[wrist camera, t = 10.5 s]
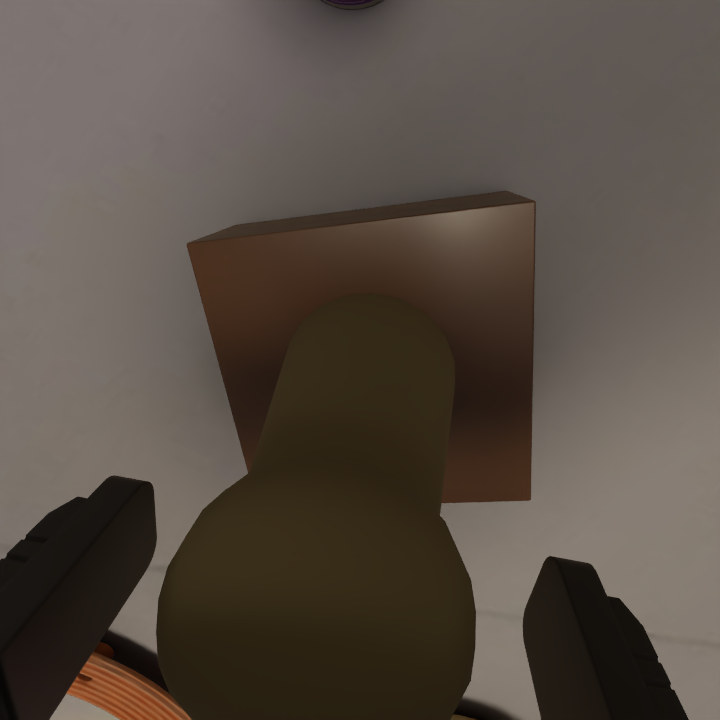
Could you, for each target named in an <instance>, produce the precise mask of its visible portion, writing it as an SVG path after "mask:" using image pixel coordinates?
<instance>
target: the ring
mask: <svg viewBox="0 0 720 720" xmlns="http://www.w3.org/2000/svg"><path fill="white" fill-rule="evenodd" d="M113 654H114V651H113V649H112V648H111V647H110V646H109V645H107V644H106V643H102V642H99V644H98V645H97V647H96V648H95V650H94V651H93V653H92V654H91V656H90V658H89V659H88V661H87V662H86V664H85V665H84V667H83V668H82V670H81V671H80V673H79V674H78V676H77V678H76V679H75V681H74V682H73V684H72V685H71V687H70V688H69V690H68V691H67V693H66V694H69V695H71V696H74V697H77V698H79V699H82V700H84V701H87V702H89V703H91V704H93V705H95V706H97V707H99V708H101V709H103V710H105V711H107V712H108V713H110V714H112V715H114V716H115V717H117V718H119V719H120V720H192V719H191V718H190V717H189V716H188V715H187V713H186V712H185V711H184V710H183V709H182V708H181V706H180V705H179V704H178V703H177V702H176V700H175V699H174V698H173V697H172V696H171V695H170V694H169V693H168V692H166V691H165V690H164V689H162V688H161V687H159V686H158V685H157V684H155V683H154V682H152V681H151V680H149V679H147V678H146V677H144V676H143V675H141V674H139V673H137V672H136V671H134V670H132V669H130V668H128V667H126V666H124V665H122V664H120V663H118V662H116V661H114V660H111V659H112V657H113Z"/></svg>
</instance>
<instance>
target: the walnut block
mask: <svg viewBox="0 0 720 720" xmlns="http://www.w3.org/2000/svg"><path fill="white" fill-rule="evenodd" d="M535 217H536V202H535V201H534V200H531V199H528V198H526V197H523V196H520V195H517V194H514V193H511V192H509V191H501V192H493V193H486V194H478V195H470V196H462V197H454V198H446V199H438V200H430V201H422V202H414V203H406V204H399V205H391V206H383V207H375V208H367V209H359V210H351V211H343V212H335V213H327V214H319V215H311V216H304V217H296V218H288V219H280V220H272V221H264V222H256V223H248V224H240V225H234V226H232V227H229V228H226V229H224V230H221V231H218V232H216V233H213V234H210V235H208V236H205V237H202V238H200V239H197V240H194V241H191V242H189V243H187V248H188V251H189V255H190V259H191V262H192V266H193V270H194V274H195V277H196V281H197V285H198V288H199V292H200V296H201V300H202V303H203V307H204V311H205V314H206V318H207V322H208V325H209V329H210V333H211V337H212V340H213V344H214V348H215V351H216V355H217V359H218V362H219V366H220V370H221V374H222V377H223V381H224V385H225V388H226V392H227V396H228V400H229V403H230V407H231V411H232V414H233V418H234V422H235V425H236V429H237V433H238V437H239V440H240V444H241V448H242V451H243V455H244V459H245V462H246V466H247V470H248V473H249V472H250V468H251V465H252V462H253V459H254V456H255V452H256V449H257V446H258V443H259V439H260V436H261V433H262V430H263V426H264V423H265V420H266V417H267V414H268V410H269V407H270V404H271V401H272V397H273V394H274V391H275V388H276V384H277V381H278V378H279V375H280V372H281V368H282V365H283V362H284V359H285V355H286V352H287V349H288V346H289V343H290V341H291V339H292V338H293V336H294V334H295V332H296V331H297V329H298V327H299V326H300V324H301V322H302V321H303V320H304V319H305V318H307V317H308V316H309V315H310V314H311V313H313V312H314V311H315V310H316V309H317V308H319V307H320V306H321V305H322V304H325V303H328V302H330V301H333V300H335V299H338V298H340V297H343V296H346V295H352V294H370V293H377V294H381V295H385V296H389V297H393V298H397V299H401V300H404V301H406V302H408V303H409V304H411V305H412V306H414V307H416V308H417V309H419V310H420V311H422V312H424V313H425V314H427V315H428V316H429V317H430V318H431V319H432V320H433V322H434V323H435V324H436V325H437V326H438V328H439V329H440V330H441V331H442V332H443V334H444V335H445V336H446V338H447V341H448V344H449V346H450V349H451V352H452V354H453V357H454V360H455V391H454V399H453V408H452V416H451V425H450V433H449V442H448V450H447V459H446V467H445V476H444V484H443V492H442V501H441V503H461V502H495V501H529V500H531V456H532V396H533V336H534V277H535Z"/></svg>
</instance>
